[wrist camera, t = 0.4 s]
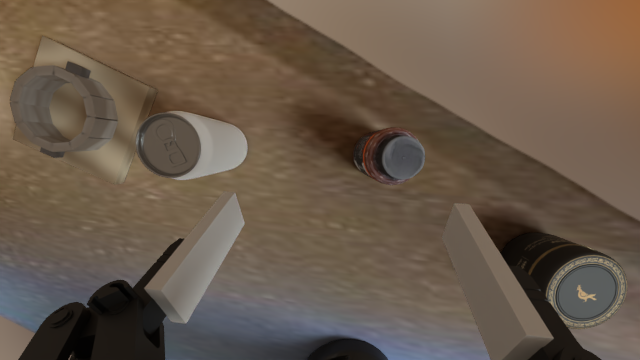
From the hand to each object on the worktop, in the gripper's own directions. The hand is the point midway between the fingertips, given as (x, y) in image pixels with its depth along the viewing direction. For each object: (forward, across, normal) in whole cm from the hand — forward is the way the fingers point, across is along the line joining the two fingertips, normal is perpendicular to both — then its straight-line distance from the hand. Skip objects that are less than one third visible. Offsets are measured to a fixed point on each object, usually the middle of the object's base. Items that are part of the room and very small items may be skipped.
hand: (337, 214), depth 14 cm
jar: (+15, -27, +20) cm, 37 cm away
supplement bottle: (+19, -4, +5) cm, 20 cm away
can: (+16, +17, +3) cm, 24 cm away
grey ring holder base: (+15, +35, -1) cm, 38 cm away
